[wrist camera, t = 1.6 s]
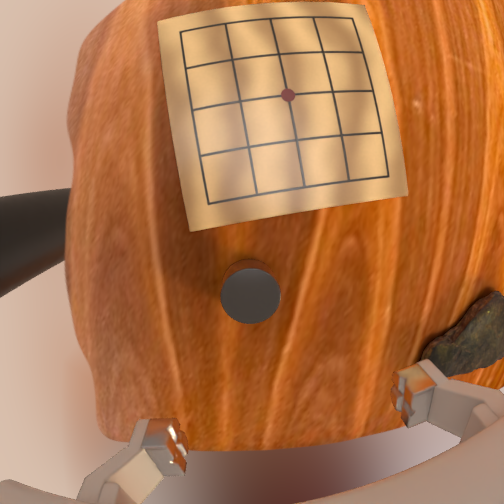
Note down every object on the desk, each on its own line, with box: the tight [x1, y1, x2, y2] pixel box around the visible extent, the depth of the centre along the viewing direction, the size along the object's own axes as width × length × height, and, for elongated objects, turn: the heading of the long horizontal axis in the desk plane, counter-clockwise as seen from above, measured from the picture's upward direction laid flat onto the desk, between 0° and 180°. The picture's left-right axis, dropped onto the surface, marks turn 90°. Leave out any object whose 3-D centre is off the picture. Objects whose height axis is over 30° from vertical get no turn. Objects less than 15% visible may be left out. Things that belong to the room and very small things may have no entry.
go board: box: [157, 2, 408, 232], centre depth 23 cm, size 20×20×2 cm
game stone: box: [221, 259, 281, 324], centre depth 26 cm, size 5×5×3 cm
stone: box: [420, 291, 504, 377], centre depth 30 cm, size 18×11×3 cm, turn 91°
